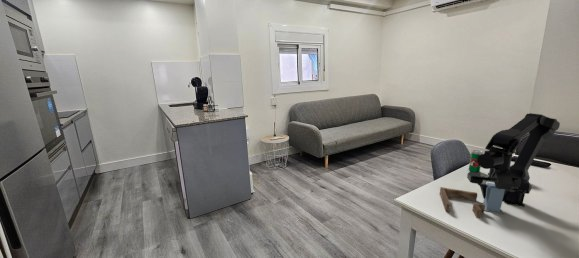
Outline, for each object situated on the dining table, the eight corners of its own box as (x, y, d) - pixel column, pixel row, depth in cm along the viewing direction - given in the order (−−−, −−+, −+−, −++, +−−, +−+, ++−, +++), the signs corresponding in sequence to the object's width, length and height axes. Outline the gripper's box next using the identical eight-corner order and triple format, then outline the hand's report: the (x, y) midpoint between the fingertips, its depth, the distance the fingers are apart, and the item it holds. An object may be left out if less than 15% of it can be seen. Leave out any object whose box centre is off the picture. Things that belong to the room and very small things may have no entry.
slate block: (495, 206, 100) (500, 184, 98) (499, 211, 97) (504, 189, 94) (483, 204, 102) (487, 182, 100) (486, 209, 98) (491, 187, 96)
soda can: (481, 173, 132) (485, 153, 129) (471, 173, 133) (474, 152, 130) (476, 170, 137) (480, 150, 134) (466, 169, 138) (470, 149, 135)
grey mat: (497, 206, 101) (498, 205, 101) (504, 214, 95) (504, 213, 95) (479, 202, 104) (479, 202, 104) (483, 210, 98) (484, 210, 98)
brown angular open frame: (475, 199, 106) (476, 192, 105) (487, 219, 92) (488, 211, 91) (439, 193, 112) (440, 187, 111) (445, 211, 98) (446, 204, 97)
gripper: (477, 168, 91) (470, 204, 95) (542, 176, 84) (532, 215, 88) (469, 158, 101) (463, 192, 105) (527, 165, 94) (518, 200, 98)
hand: (492, 199), depth 99 cm, fingers open, 6 cm apart
